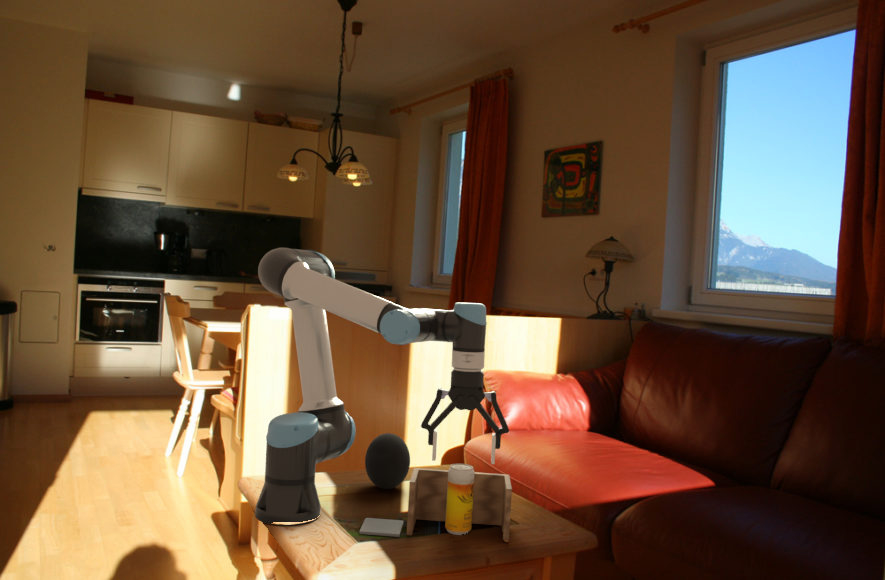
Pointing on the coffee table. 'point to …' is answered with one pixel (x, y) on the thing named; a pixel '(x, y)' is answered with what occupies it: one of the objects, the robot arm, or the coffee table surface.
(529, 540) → the coffee table surface
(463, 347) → the robot arm
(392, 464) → the decorative egg
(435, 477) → the wooden monitor riser
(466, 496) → the beer can
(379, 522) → the slate coaster
